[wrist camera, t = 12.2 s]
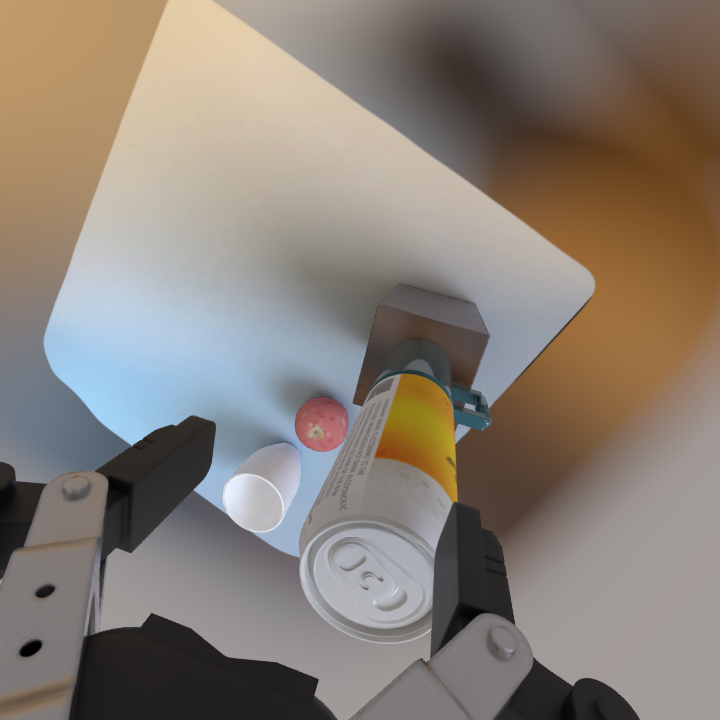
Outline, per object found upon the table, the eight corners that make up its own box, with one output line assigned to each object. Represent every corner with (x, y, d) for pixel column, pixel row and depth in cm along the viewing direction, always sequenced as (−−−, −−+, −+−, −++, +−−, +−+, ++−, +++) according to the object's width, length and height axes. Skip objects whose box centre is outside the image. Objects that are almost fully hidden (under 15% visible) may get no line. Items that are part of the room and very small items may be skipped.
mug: (292, 422, 62) (257, 463, 50) (323, 468, 63) (297, 518, 52) (237, 453, 65) (193, 497, 54) (267, 495, 67) (231, 548, 55)
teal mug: (393, 330, 36) (377, 358, 27) (495, 359, 35) (511, 398, 26) (376, 392, 38) (355, 436, 29) (471, 421, 37) (479, 476, 28)
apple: (310, 382, 59) (291, 403, 52) (358, 396, 58) (345, 419, 51) (302, 426, 61) (282, 452, 54) (348, 440, 61) (334, 469, 53)
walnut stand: (400, 283, 52) (378, 304, 35) (475, 303, 51) (490, 335, 34) (380, 353, 56) (352, 403, 39) (451, 374, 54) (453, 435, 38)
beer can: (404, 465, 29) (366, 674, 15) (348, 404, 29) (255, 562, 15) (472, 418, 27) (500, 610, 13) (413, 352, 27) (377, 477, 13)
